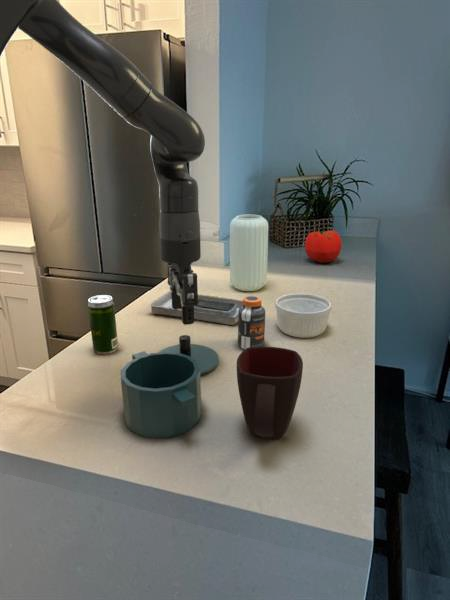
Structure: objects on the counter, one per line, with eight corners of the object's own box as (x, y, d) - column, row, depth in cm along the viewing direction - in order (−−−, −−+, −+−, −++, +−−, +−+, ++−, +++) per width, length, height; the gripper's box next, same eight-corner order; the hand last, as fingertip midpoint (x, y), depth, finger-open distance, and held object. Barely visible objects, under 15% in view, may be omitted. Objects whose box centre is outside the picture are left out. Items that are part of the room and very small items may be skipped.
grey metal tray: (170, 299, 126) (169, 289, 125) (252, 308, 118) (252, 298, 117) (148, 315, 114) (147, 305, 113) (237, 327, 106) (237, 316, 105)
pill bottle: (251, 353, 93) (252, 305, 89) (232, 345, 97) (232, 297, 93) (269, 345, 97) (271, 298, 93) (250, 337, 101) (251, 291, 97)
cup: (299, 412, 73) (303, 348, 69) (297, 470, 60) (302, 396, 56) (241, 406, 74) (241, 344, 70) (227, 462, 62) (227, 389, 57)
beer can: (122, 345, 97) (117, 295, 93) (112, 356, 92) (107, 304, 88) (99, 343, 98) (93, 294, 94) (89, 354, 93) (82, 302, 89)
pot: (152, 459, 62) (148, 409, 59) (108, 401, 76) (103, 358, 73) (224, 428, 69) (224, 381, 66) (171, 380, 83) (169, 340, 80)
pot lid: (172, 387, 80) (170, 359, 78) (141, 359, 91) (139, 333, 89) (231, 367, 88) (231, 340, 86) (196, 343, 98) (196, 319, 96)
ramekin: (322, 344, 97) (324, 316, 94) (266, 334, 102) (267, 307, 100) (334, 323, 108) (336, 297, 106) (283, 315, 113) (284, 290, 111)
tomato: (333, 256, 171) (335, 226, 167) (344, 266, 158) (347, 234, 153) (300, 257, 170) (301, 227, 166) (308, 266, 157) (310, 235, 153)
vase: (253, 296, 128) (254, 221, 120) (222, 288, 134) (222, 217, 126) (273, 286, 136) (275, 215, 129) (243, 279, 143) (244, 212, 135)
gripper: (152, 229, 85) (157, 305, 91) (168, 244, 72) (172, 332, 78) (189, 227, 87) (191, 301, 93) (211, 241, 75) (211, 326, 80)
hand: (182, 315), depth 85 cm, fingers open, 8 cm apart
